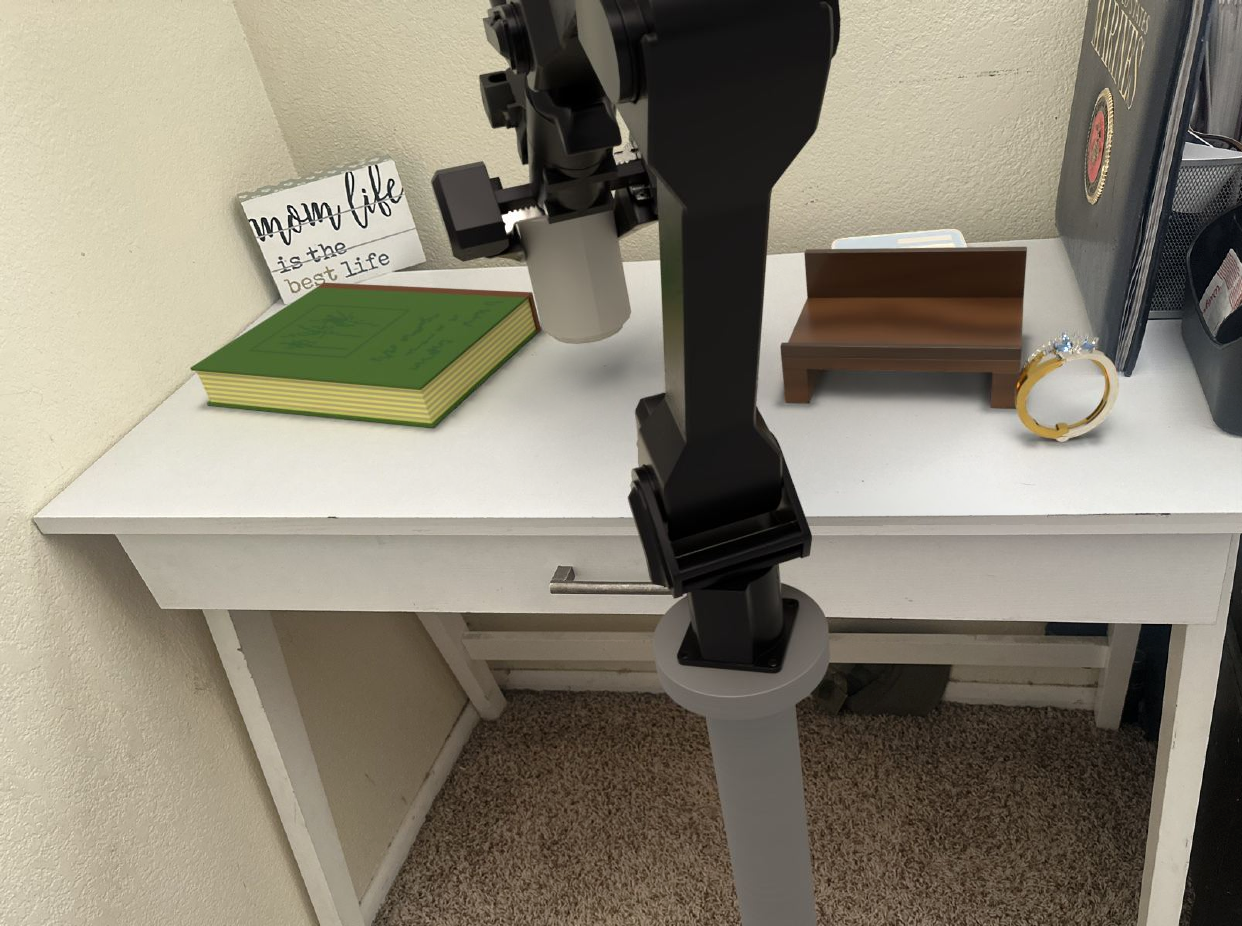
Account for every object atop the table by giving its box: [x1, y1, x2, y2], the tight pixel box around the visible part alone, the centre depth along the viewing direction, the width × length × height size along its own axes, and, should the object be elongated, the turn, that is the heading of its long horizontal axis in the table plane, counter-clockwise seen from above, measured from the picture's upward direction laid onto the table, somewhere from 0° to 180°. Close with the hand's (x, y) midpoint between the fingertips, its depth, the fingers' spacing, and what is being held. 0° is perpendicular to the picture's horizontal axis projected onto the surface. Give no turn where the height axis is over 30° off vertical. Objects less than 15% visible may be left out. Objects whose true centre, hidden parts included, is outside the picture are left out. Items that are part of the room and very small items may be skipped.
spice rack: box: [779, 246, 1028, 409], centre depth 81 cm, size 12×18×8 cm, turn 76°
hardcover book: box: [189, 282, 542, 429], centre depth 94 cm, size 25×19×4 cm
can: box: [516, 182, 632, 345], centre depth 81 cm, size 8×8×12 cm
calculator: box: [830, 228, 968, 249], centre depth 97 cm, size 13×20×2 cm, turn 178°
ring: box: [1014, 329, 1120, 443], centre depth 71 cm, size 7×3×8 cm, turn 86°
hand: (568, 246), depth 82 cm, fingers closed on can, 7 cm apart
